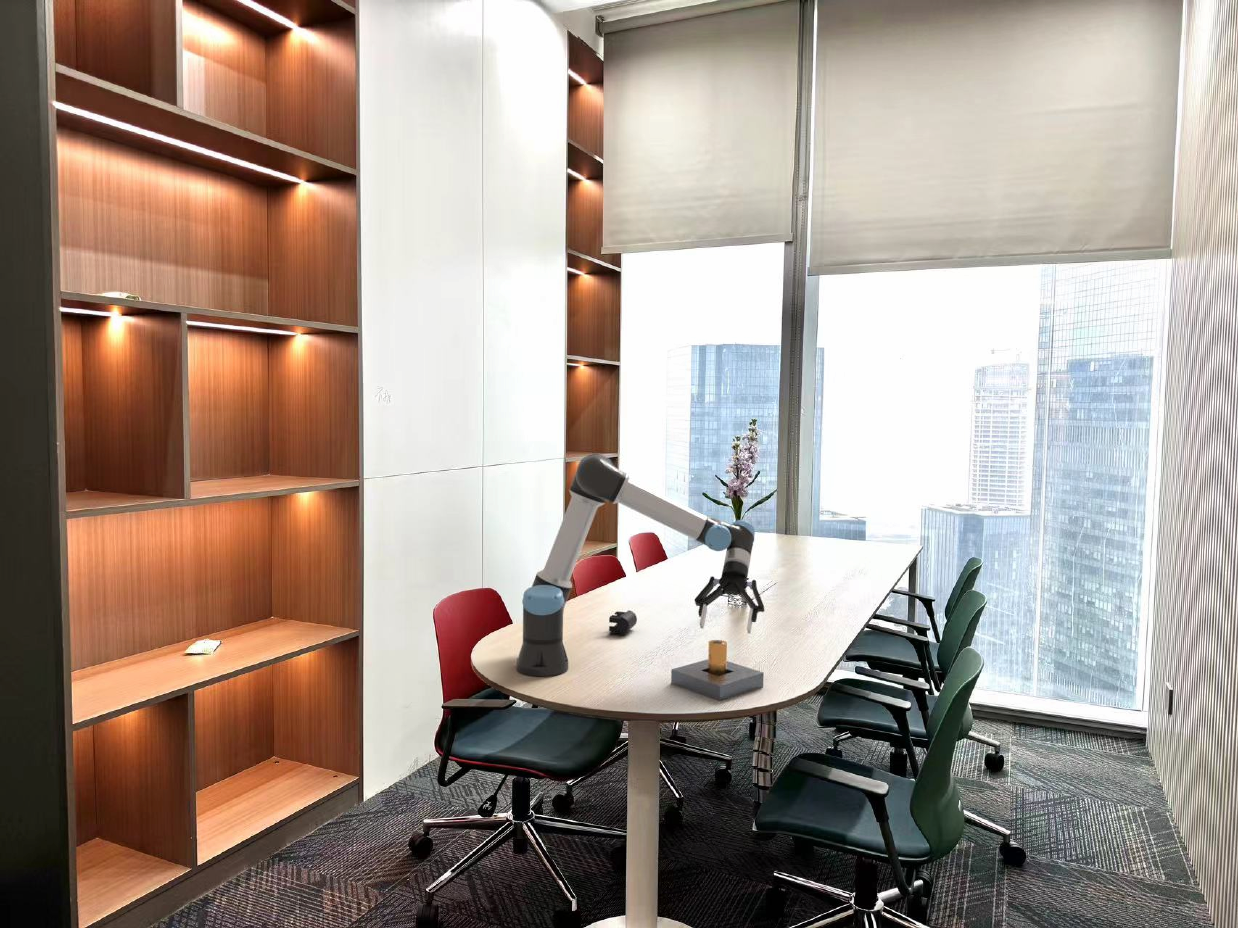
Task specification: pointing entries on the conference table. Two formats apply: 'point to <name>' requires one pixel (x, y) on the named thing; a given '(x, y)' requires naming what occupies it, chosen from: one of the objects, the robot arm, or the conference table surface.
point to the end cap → (622, 622)
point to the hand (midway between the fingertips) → (724, 628)
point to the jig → (717, 680)
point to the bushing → (717, 657)
